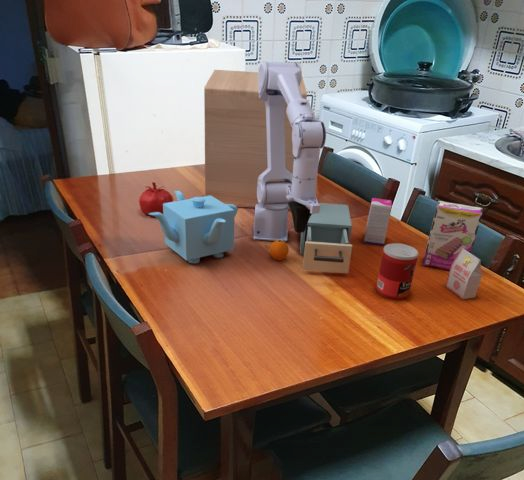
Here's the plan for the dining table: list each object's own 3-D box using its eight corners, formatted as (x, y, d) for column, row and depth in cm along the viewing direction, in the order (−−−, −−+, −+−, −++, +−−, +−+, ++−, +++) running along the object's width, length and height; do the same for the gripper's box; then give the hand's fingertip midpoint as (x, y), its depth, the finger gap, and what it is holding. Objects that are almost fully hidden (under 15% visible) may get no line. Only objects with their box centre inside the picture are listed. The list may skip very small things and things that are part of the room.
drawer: (349, 283, 132) (353, 255, 128) (302, 279, 132) (305, 251, 128) (344, 249, 148) (348, 224, 144) (302, 246, 149) (305, 220, 145)
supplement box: (384, 245, 154) (392, 206, 148) (363, 243, 155) (370, 203, 149) (384, 238, 159) (392, 199, 152) (364, 235, 160) (370, 197, 153)
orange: (268, 262, 142) (269, 243, 139) (269, 254, 146) (270, 235, 143) (287, 263, 141) (289, 245, 138) (288, 255, 146) (289, 237, 143)
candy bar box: (421, 266, 144) (436, 205, 135) (423, 258, 148) (437, 199, 139) (465, 274, 142) (483, 213, 132) (465, 266, 146) (483, 206, 136)
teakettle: (240, 243, 150) (241, 190, 142) (224, 273, 135) (225, 215, 127) (173, 235, 153) (171, 183, 144) (151, 263, 137) (147, 206, 129)
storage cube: (296, 210, 174) (307, 93, 154) (205, 205, 173) (204, 87, 153) (292, 177, 202) (301, 74, 182) (214, 173, 201) (214, 69, 182)
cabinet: (347, 258, 146) (352, 225, 141) (300, 254, 146) (303, 222, 141) (343, 235, 159) (347, 204, 154) (300, 232, 159) (303, 201, 154)
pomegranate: (164, 221, 161) (162, 190, 155) (134, 215, 163) (131, 184, 158) (179, 210, 169) (178, 180, 163) (149, 205, 171) (147, 175, 166)
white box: (457, 284, 137) (468, 247, 131) (475, 297, 132) (487, 259, 126) (445, 286, 136) (455, 248, 130) (462, 299, 130) (474, 260, 125)
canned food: (402, 303, 127) (412, 260, 121) (370, 293, 130) (378, 250, 124) (413, 291, 132) (423, 249, 126) (382, 281, 136) (390, 240, 130)
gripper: (276, 168, 131) (273, 222, 139) (302, 187, 120) (297, 244, 128) (303, 166, 134) (298, 219, 141) (330, 185, 123) (323, 241, 130)
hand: (299, 231), depth 135 cm, fingers closed
